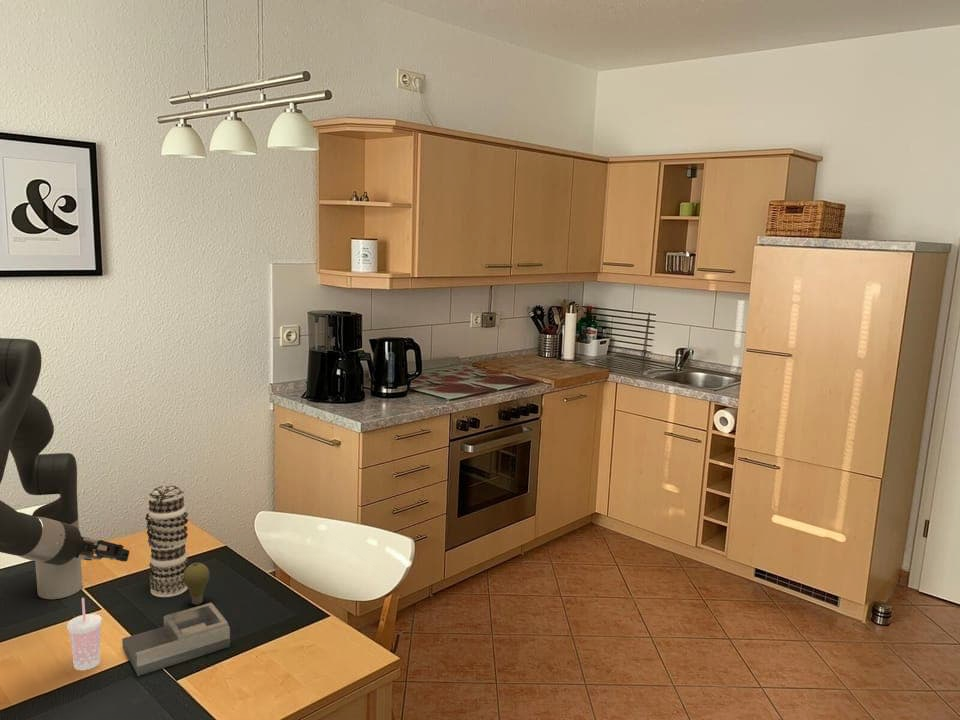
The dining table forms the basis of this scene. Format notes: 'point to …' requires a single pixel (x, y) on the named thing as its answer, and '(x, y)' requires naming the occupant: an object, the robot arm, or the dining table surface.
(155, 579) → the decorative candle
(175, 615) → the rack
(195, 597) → the light bulb
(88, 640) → the beverage cup
